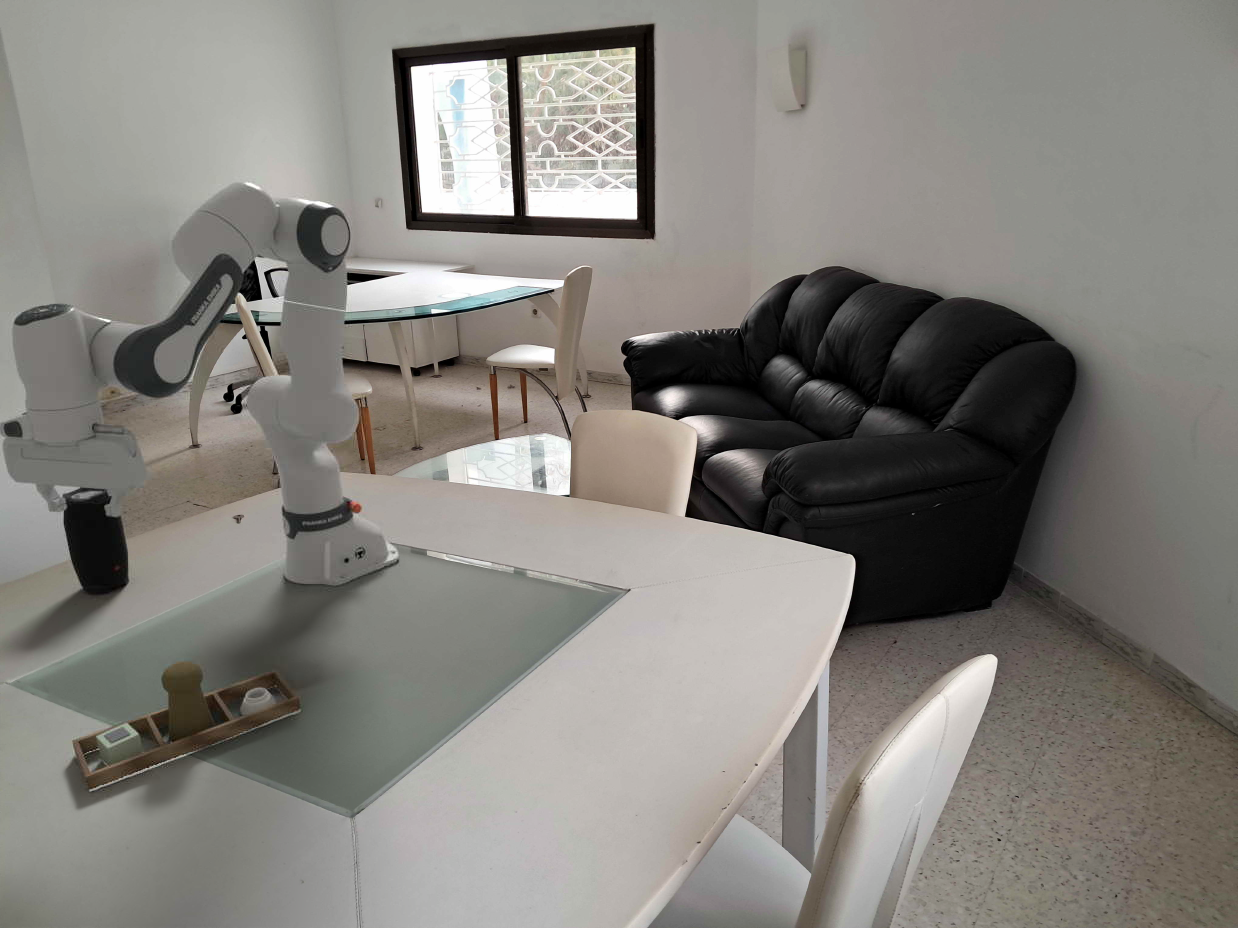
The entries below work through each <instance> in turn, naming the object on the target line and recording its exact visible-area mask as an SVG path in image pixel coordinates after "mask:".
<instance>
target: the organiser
mask: <svg viewBox="0 0 1238 928" xmlns="http://www.w3.org/2000/svg"><path fill="white" fill-rule="evenodd" d="M275 685H276V686H277V687H276V688H278V689H279V690H280V691H281V692H282V694H283V695H284V696H285V697H286V698H287V700H286V699H285V700H283V701H280V702H278V703H277V702H276V703H277V704H274V705H272V706H269V707H266V708H264V709H261V710H258V711H256V712H253V713H250V714H247V715H245V716H243V715H242V716H239V717H236V718H235V717H234V716H233V714H232V713H231V712H230V710H229V708H228V707H227V706H226V705H228V704H230V702H231V703H233V701H234V702H236V700H237V701H239V700H241V699H240V698H242V699H244V697H245V696H246V693H247V692H248V691H250V690H252V689H255V688H265V689H267V690H269V689H268V688H270V689H272V688H271V687H273V688H275V687H274V686H275ZM278 689H277V690H278ZM279 690H278V691H279ZM280 691H279V692H280ZM281 692H280V693H281ZM282 694H281V695H282ZM283 695H282V696H283ZM284 696H283V697H284ZM204 697H205V700H206V703H207V705H208V708H209V711H211V710H214V709H215V711H216V710H217V711H216V712H217V714H218V713H219V714H218V715H219V717H220V716H221V717H220V718H221V720H222V719H223V720H222V721H223V723H221V724H218V725H215V727H212V728H210V729H207V730H204V731H202V732H199V733H196V734H193V735H191V736H188V737H185V738H183V739H180V740H177V741H175V742H172V743H171V742H170V743H167V744H166V743H165V742H166V741H164V739H163V737H162V735H161V733H160V731H159V729H161V728H164V727H166V726H169V707H165V708H161V709H160V710H157V711H154V712H150V713H148V714H144V715H142V716H139V717H136V718H133V719H130V720H128V721H124V722H121V723H118V724H116V725H114V726H113V725H112V726H111V727H108V728H104V729H101V730H99V731H96V732H92V733H90V734H87V735H83V736H81V737H78V738H76V739H73V740H72V746H73V750H74V753H75V754H74V755H75V757H77V758H76V760H77V763H78V762H79V763H78V765H80V766H79V768H80V771H81V770H82V771H81V773H83V774H82V776H83V779H84V778H85V779H84V781H86V782H85V784H86V783H87V784H86V787H87V786H88V787H87V789H89V790H90V789H93V788H96V787H98V786H100V785H104V784H107V783H109V782H112V781H115V780H118V779H119V778H123V777H124V776H127V775H131V774H133V773H135V772H138V771H141V770H143V769H145V768H149V767H150V766H153V765H157V764H159V763H162V762H165V761H167V760H170V759H172V758H176V757H178V756H180V755H184V754H187V753H189V752H193V751H196V750H199V749H202V748H205V747H207V746H210V745H212V744H215V743H217V742H219V741H222V740H225V739H227V738H230V737H233V736H235V735H238V734H240V733H243V732H244V731H248V730H251V729H252V728H255V727H258V726H260V725H262V724H264V723H267V722H269V721H271V720H274V719H277V718H280V717H282V716H284V715H287V714H290V713H293V712H295V711H298V710H299V709H301V710H302V708H301V701H300V699H301V698H300V696H299V695H298V694H297V693H296V692H295V691H294V689H293V688H292V687H291V685H290V684H289V683H288V682H287V681H286V679H285V678H284V677H283V676H282V675H281V673H280V672H279V671H278V670H277V669H274V670H271V671H268V672H266V673H262V674H260V675H256V676H255V677H251V678H249V679H245V680H243V681H240V682H236V683H234V684H231V685H229V686H225V687H222V688H219V689H217V690H214V691H211V692H208V693H205V694H204ZM285 697H284V698H285ZM238 699H239V700H238ZM227 703H228V704H227ZM210 709H211V710H210ZM224 722H225V723H224ZM125 723H128V724H129V725H130V726H131V727H132V728H133V729H134V730H135V731H136V732H137V733H138V734H139V736H141V735H144V734H148V733H149V735H150V737H151V739H152V740H153V743H154V745H155V744H156V745H155V747H156V746H157V747H156V748H153V749H151V750H148V751H146V752H143V753H142V754H139V755H137V756H134V757H131V758H129V759H126V760H123V761H121V762H118V763H115V764H113V765H110V766H103V768H99V769H97V770H94V771H92V772H91V771H90V769H89V766H88V763H87V761H86V758H85V755H83V754H85V753H87V752H89V751H93V750H96V749H98V744H97V739H96V736H98V735H100V734H102V733H104V732H107V731H109V730H111V729H113V728H116V727H118V726H120V725H122V724H125ZM89 790H88V791H89Z"/></svg>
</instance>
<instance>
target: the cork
mask: <svg viewBox="0 0 1238 928" xmlns="http://www.w3.org/2000/svg"><path fill="white" fill-rule="evenodd" d="M203 678H204V674H203V670H202V668H201V666H200V665H199V664H198V663H197V662H195V661H190V660H189V661H187V660H183V661H178V662H175V663H173V664H171V665H169V666H168V667H166V668H165V669H164V671H163V673H162V675H161V680H160V681H161V685H162V687H163V689H164V691H165V692H167V698H168V701H167V703H168V707H169V725H168V738H169V742H170V741H171V742H175V741H177V740H180V739H183V738H185V737H188V736H191V735H193V734H196V733H199V732H202V731H204V730H207V729H210V728H212V727H215V726H216V725H215V722H214V720H213V717H212V714H211V710H209V708H208V705H207V703H206V700H205V697H204V695H205V694H204V691H203V689H202V686H201V684H202V681H203ZM171 742H170V743H171Z"/></svg>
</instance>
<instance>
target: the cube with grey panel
mask: <svg viewBox="0 0 1238 928" xmlns="http://www.w3.org/2000/svg"><path fill="white" fill-rule="evenodd" d="M96 739H97V744H98V748H99V750H98V752H99V756H100V757H99V758H100V760H101V759H102V760H103V761H104V762H105V763H106V764H107V765H108V766H110V765H113V764H115V763H118V762H121V761H123V760H126V759H129V758H131V757H134V756H137V755H139V754H142V753H144V750H143V747H142V746H143V745H142V741H141V735H139V734H138V733H137V732H136V731H135V730H134V729H133V728H132V727H131V726H130V725H129V724H128V723H125V724H122V725H120V726H118V727H116V728H113V729H111V730H109V731H107V732H104V733H102V734H100V735H98V736H96Z"/></svg>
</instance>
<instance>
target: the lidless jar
mask: <svg viewBox="0 0 1238 928" xmlns="http://www.w3.org/2000/svg"><path fill="white" fill-rule="evenodd" d="M274 704H277V700H276V698H275V697H274V696H273V695H272V694H271V693H270V692H269V691H268V689H267V690H266V689H265V688H255V689H252V690H250V691H248V692H247V693H246V696H245V698H243V701H242V703H241V705H240V708H239V710H240V715H242V716H245V715H247V714H250V713H253V712H256V711H258V710H261V709H264V708H266V707H269V706H272V705H274Z"/></svg>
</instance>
